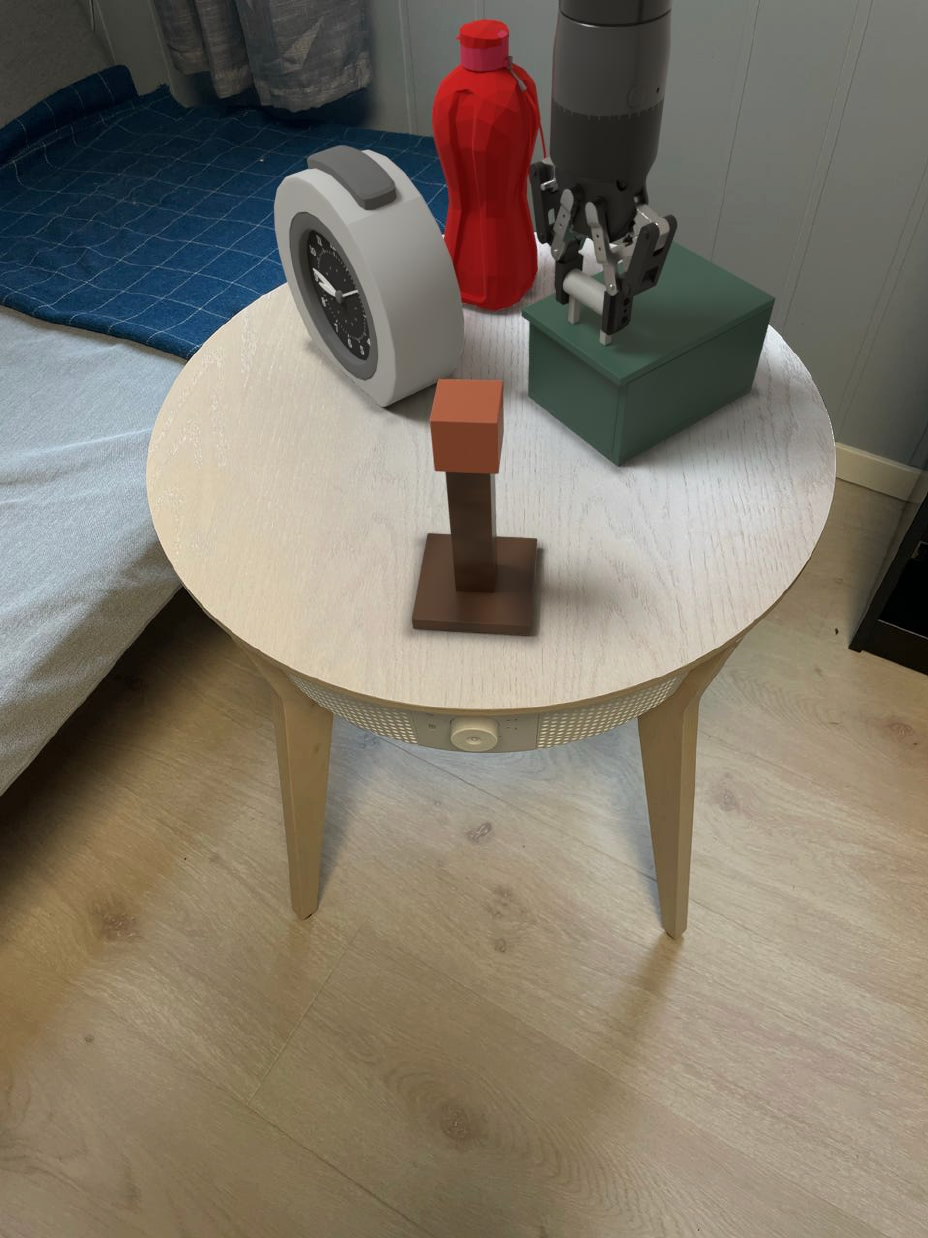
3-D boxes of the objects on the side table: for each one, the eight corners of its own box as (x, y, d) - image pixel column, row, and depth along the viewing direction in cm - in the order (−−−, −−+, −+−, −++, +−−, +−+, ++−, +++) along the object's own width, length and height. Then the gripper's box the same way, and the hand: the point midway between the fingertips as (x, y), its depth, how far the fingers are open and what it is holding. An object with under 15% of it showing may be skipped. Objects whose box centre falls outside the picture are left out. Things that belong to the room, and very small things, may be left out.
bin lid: (620, 387, 68) (627, 328, 64) (520, 316, 74) (521, 258, 70) (773, 306, 74) (789, 247, 69) (669, 247, 80) (677, 190, 76)
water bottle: (522, 326, 89) (525, 54, 69) (432, 300, 93) (410, 35, 73) (561, 282, 94) (573, 15, 74) (474, 259, 97) (464, 0, 77)
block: (503, 431, 57) (503, 379, 54) (498, 474, 55) (497, 422, 52) (442, 429, 58) (438, 377, 55) (434, 471, 55) (429, 420, 52)
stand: (537, 547, 70) (541, 410, 59) (530, 635, 64) (533, 502, 53) (428, 542, 71) (412, 405, 60) (412, 628, 65) (392, 496, 54)
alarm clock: (295, 327, 91) (249, 128, 75) (355, 301, 93) (323, 104, 77) (404, 429, 80) (377, 221, 64) (469, 397, 82) (458, 190, 66)
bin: (617, 466, 75) (628, 383, 68) (527, 395, 82) (529, 312, 75) (751, 391, 81) (773, 306, 74) (656, 330, 87) (669, 247, 80)
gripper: (728, 103, 54) (685, 337, 68) (580, 41, 62) (568, 263, 75) (641, 139, 52) (614, 374, 65) (498, 70, 59) (500, 293, 72)
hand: (590, 313), depth 70 cm, fingers closed on bin lid, 5 cm apart
